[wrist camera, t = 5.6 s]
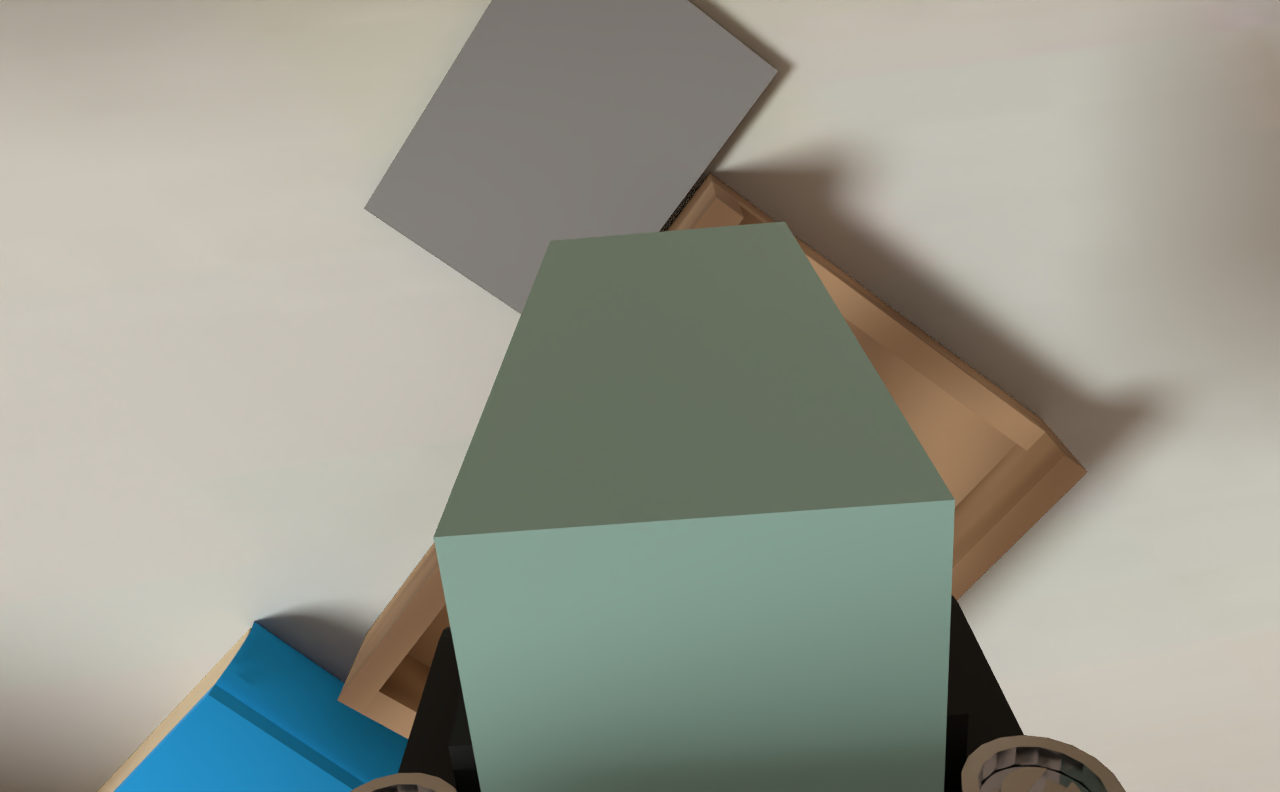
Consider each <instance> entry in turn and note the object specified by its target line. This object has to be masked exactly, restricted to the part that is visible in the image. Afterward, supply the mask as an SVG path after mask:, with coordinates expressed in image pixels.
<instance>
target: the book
mask: <svg viewBox="0 0 1280 792" xmlns="http://www.w3.org/2000/svg"><path fill="white" fill-rule="evenodd" d="M249 630H250V631H249ZM249 630H248V631H247V632H246V633H245V634H244V635H243V636H242V638H241V639H240V640H239V641H238V642H237V643H236V644H235V645H234V646H233V647H232V648H231V649H230V650H229V651H228V653H227V654H226V655H225V656H224V657H223V658H222V659H221V660H220V661H219V662H218V663H217V664H216V665H215V666H214V667H213V669H212V670H211V671H210V672H209V673H208V674H207V675H206V676H205V677H204V678H203V679H202V680H201V681H200V682H199V683H198V685H197V686H196V687H195V688H194V689H193V690H192V691H191V692H190V693H189V694H188V695H187V696H186V697H185V698H184V699H183V701H182V702H181V703H180V704H179V705H178V706H177V707H176V708H175V709H174V710H173V711H172V712H171V713H170V714H169V715H168V717H167V718H166V719H165V720H164V721H163V722H162V723H161V724H160V725H159V726H158V727H157V728H156V729H155V730H154V731H153V733H152V734H151V735H150V736H149V737H148V738H147V739H146V740H145V741H144V742H143V743H142V744H141V745H140V746H139V748H138V749H137V750H136V751H135V752H134V753H133V754H132V755H131V756H130V757H129V758H128V759H127V760H126V761H125V762H124V764H123V765H122V766H121V767H120V768H119V769H118V770H117V771H116V772H115V773H114V774H113V775H112V776H111V777H110V778H109V780H108V781H107V782H106V783H105V784H104V785H103V786H102V787H101V788H100V789H99V790H98V791H97V792H350V791H352V790H353V789H355V788H357V787H359V786H361V785H363V784H365V783H368V782H370V781H372V780H374V779H376V778H381V777H385V776H389V775H393V774H397V773H398V771H399V768H400V765H401V761H402V758H403V755H404V752H405V748H406V745H407V742H408V739H407V738H405V737H403V736H402V735H400V734H398V733H396V732H394V731H392V730H390V729H389V728H387V727H385V726H383V725H381V724H379V723H378V722H376V721H374V720H372V719H370V718H368V717H367V716H365V715H363V714H361V713H359V712H357V711H356V710H354V709H352V708H350V707H348V706H346V705H345V704H343V703H341V702H339V701H337V700H338V697H339V695H340V693H341V691H342V688H343V686H344V683H343V682H341V681H340V680H339V679H337V678H336V677H334V676H333V675H331V674H330V673H328V672H327V671H326V670H324V669H323V668H321V667H320V666H318V665H317V664H315V663H314V662H312V661H311V660H310V659H308V658H307V657H305V656H304V655H302V654H301V653H299V652H298V651H297V650H295V649H294V648H292V647H291V646H289V645H288V644H286V643H285V642H283V641H282V640H281V639H279V638H278V637H276V636H275V635H273V634H272V633H270V632H269V631H267V630H266V629H265V628H263V627H262V626H260V625H259V624H257V623H256V622H254V624H253V627H252V629H249ZM246 637H247V638H246ZM245 639H246V640H245Z"/></svg>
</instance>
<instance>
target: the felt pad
mask: <svg viewBox="0 0 1280 792" xmlns="http://www.w3.org/2000/svg"><path fill="white" fill-rule="evenodd" d="M777 72H778V71H777V70H776V69H775V68H773V67H772V66H771V65H769V64H768V63H767V62H766V61H764V60H763V59H762V58H761V57H759V56H758V55H757V54H756V53H754V52H753V51H752V50H750V49H749V48H748V47H747V46H745V45H744V44H743V43H742V42H740V41H739V40H738V39H736V38H735V37H734V36H733V35H731V34H730V33H729V32H728V31H726V30H725V29H724V28H723V27H721V26H720V25H719V24H717V23H716V22H715V21H714V20H712V19H711V18H710V17H709V16H707V15H706V14H705V13H703V12H702V11H701V10H700V9H698V8H697V7H696V6H695V5H693V4H692V3H691V2H689V1H688V0H492V1H491V3H490V4H489V6H488V8H487V9H486V11H485V13H484V14H483V16H482V17H481V19H480V21H479V22H478V24H477V26H476V27H475V29H474V30H473V32H472V34H471V35H470V37H469V39H468V40H467V42H466V43H465V45H464V47H463V48H462V50H461V52H460V53H459V55H458V56H457V58H456V60H455V61H454V63H453V65H452V66H451V68H450V69H449V71H448V73H447V74H446V76H445V78H444V79H443V81H442V82H441V84H440V86H439V87H438V89H437V91H436V92H435V94H434V95H433V97H432V99H431V100H430V102H429V104H428V105H427V107H426V108H425V110H424V112H423V113H422V115H421V117H420V118H419V120H418V121H417V123H416V125H415V126H414V128H413V130H412V131H411V133H410V134H409V136H408V138H407V139H406V141H405V143H404V144H403V146H402V147H401V149H400V151H399V152H398V154H397V156H396V157H395V159H394V160H393V162H392V164H391V165H390V167H389V169H388V170H387V172H386V173H385V175H384V177H383V178H382V180H381V182H380V183H379V185H378V186H377V188H376V190H375V191H374V193H373V195H372V196H371V198H370V199H369V201H368V203H367V204H366V206H365V208H364V209H365V210H367V211H368V212H370V213H371V214H373V215H374V216H376V217H377V218H379V219H380V220H382V221H383V222H385V223H386V224H388V225H389V226H391V227H392V228H394V229H395V230H397V231H398V232H400V233H401V234H403V235H404V236H406V237H407V238H409V239H410V240H412V241H413V242H415V243H416V244H418V245H419V246H421V247H422V248H423V249H425V250H426V251H428V252H429V253H431V254H432V255H434V256H435V257H437V258H438V259H440V260H441V261H443V262H444V263H446V264H447V265H449V266H450V267H452V268H453V269H455V270H456V271H458V272H459V273H461V274H462V275H464V276H465V277H467V278H468V279H470V280H471V281H473V282H474V283H476V284H477V285H479V286H480V287H482V288H483V289H485V290H486V291H488V292H489V293H491V294H492V295H494V296H495V297H496V298H498V299H499V300H501V301H502V302H504V303H505V304H507V305H508V306H510V307H511V308H513V309H514V310H516V311H517V312H519V313H520V314H522V311H523V309H524V306H525V304H526V301H527V299H528V296H529V294H530V291H531V289H532V286H533V284H534V281H535V278H536V276H537V273H538V271H539V268H540V266H541V263H542V261H543V258H544V256H545V253H546V251H547V248H548V245H549V243H550V241H554V240H566V239H578V238H590V237H602V236H615V235H627V234H639V233H651V232H659V231H660V230H661V228H662V227H663V226H664V224H665V223H666V222H667V220H668V219H669V218H670V216H671V215H672V213H673V212H674V211H675V209H676V208H677V207H678V205H679V204H680V203H681V201H682V200H683V199H684V197H685V196H686V195H687V193H688V192H689V191H690V189H691V188H692V186H693V185H694V184H695V182H696V181H697V180H698V178H699V177H700V176H701V174H702V173H703V172H704V170H705V169H706V168H707V166H708V165H709V164H710V162H711V161H712V160H713V158H714V157H715V155H716V154H717V153H718V151H719V150H720V149H721V147H722V146H723V145H724V143H725V142H726V141H727V139H728V138H729V137H730V135H731V134H732V133H733V131H734V130H735V129H736V127H737V126H738V124H739V123H740V122H741V120H742V119H743V118H744V116H745V115H746V114H747V112H748V111H749V110H750V108H751V107H752V106H753V104H754V103H755V102H756V100H757V99H758V97H759V96H760V95H761V93H762V92H763V91H764V89H765V88H766V87H767V85H768V84H769V83H770V81H771V80H772V79H773V77H774V76H775V75H776V73H777Z"/></svg>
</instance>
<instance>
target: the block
mask: <svg viewBox="0 0 1280 792" xmlns="http://www.w3.org/2000/svg"><path fill="white" fill-rule="evenodd" d="M954 513H955V499H954V497H953V496H952V494H951V492H950V491H949V489H948V488H947V486H946V484H945V483H944V481H943V479H942V478H941V476H940V474H939V473H938V471H937V470H936V468H935V466H934V465H933V463H932V461H931V460H930V458H929V456H928V455H927V453H926V452H925V450H924V448H923V447H922V445H921V443H920V442H919V440H918V438H917V437H916V435H915V434H914V432H913V430H912V429H911V427H910V425H909V424H908V422H907V420H906V419H905V417H904V416H903V414H902V412H901V411H900V409H899V407H898V406H897V404H896V402H895V401H894V399H893V398H892V396H891V394H890V393H889V391H888V389H887V388H886V386H885V384H884V383H883V381H882V380H881V378H880V376H879V375H878V373H877V371H876V370H875V368H874V366H873V365H872V363H871V362H870V360H869V358H868V357H867V355H866V353H865V352H864V350H863V348H862V347H861V345H860V344H859V342H858V340H857V339H856V337H855V335H854V334H853V332H852V330H851V329H850V327H849V326H848V324H847V322H846V321H845V319H844V317H843V316H842V314H841V312H840V311H839V309H838V308H837V306H836V304H835V303H834V301H833V299H832V298H831V296H830V294H829V293H828V291H827V290H826V288H825V286H824V285H823V283H822V281H821V280H820V278H819V276H818V275H817V273H816V272H815V270H814V268H813V267H812V265H811V263H810V262H809V260H808V258H807V257H806V255H805V254H804V252H803V250H802V249H801V247H800V245H799V244H798V242H797V240H796V239H795V237H794V236H793V234H792V232H791V231H790V229H789V227H788V226H787V224H786V222H785V221H784V222H772V223H759V224H747V225H735V226H723V227H711V228H699V229H687V230H675V231H663V232H651V233H639V234H627V235H615V236H602V237H590V238H578V239H566V240H554V241H550V243H549V245H548V248H547V251H546V253H545V256H544V258H543V261H542V263H541V266H540V268H539V271H538V273H537V276H536V278H535V281H534V284H533V286H532V289H531V291H530V294H529V296H528V299H527V301H526V304H525V306H524V309H523V311H522V314H521V317H520V319H519V322H518V324H517V327H516V329H515V332H514V334H513V337H512V339H511V342H510V344H509V347H508V350H507V352H506V355H505V357H504V360H503V362H502V365H501V367H500V370H499V372H498V375H497V378H496V380H495V383H494V385H493V388H492V390H491V393H490V395H489V398H488V400H487V403H486V405H485V408H484V411H483V413H482V416H481V418H480V421H479V423H478V426H477V428H476V431H475V433H474V436H473V438H472V441H471V444H470V446H469V449H468V451H467V454H466V456H465V459H464V461H463V464H462V466H461V469H460V471H459V474H458V477H457V479H456V482H455V484H454V487H453V489H452V492H451V494H450V497H449V499H448V502H447V504H446V507H445V510H444V512H443V515H442V517H441V520H440V522H439V525H438V527H437V530H436V532H435V535H434V542H435V548H436V553H437V558H438V564H439V569H440V574H441V580H442V585H443V590H444V596H445V601H446V606H447V612H448V617H449V623H450V628H451V633H452V639H453V644H454V649H455V655H456V660H457V665H458V671H459V676H460V682H461V687H462V692H463V698H464V703H465V708H466V714H467V719H468V724H469V730H470V735H471V741H472V746H473V751H474V757H475V762H476V767H477V773H478V778H479V783H480V789H481V792H944V777H945V751H946V725H947V698H948V672H949V645H950V619H951V592H952V566H953V539H954Z"/></svg>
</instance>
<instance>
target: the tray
mask: <svg viewBox="0 0 1280 792" xmlns="http://www.w3.org/2000/svg"><path fill="white" fill-rule="evenodd" d="M772 222H776V221H774V220H773V219H771V218H770V217H769V216H767V215H766V214H765V213H763V212H762V211H761V210H759V209H758V208H757V207H755V206H754V205H753V204H751V203H750V202H749V201H747V200H746V199H745V198H743V197H742V196H741V195H739V194H738V193H737V192H735V191H734V190H733V189H731V188H730V187H729V186H727V185H726V184H724V183H723V182H722V181H720V180H719V179H718V178H716V177H715V176H714V175H712V174H711V173H709V174H708V175H707V177H706V178H705V179H704V181H703V182H702V183H701V185H700V186H699V187H698V189H697V190H696V191H695V193H694V194H693V196H692V197H691V198H690V200H689V201H688V202H687V204H686V205H685V206H684V208H683V209H682V210H681V212H680V213H679V214H678V216H677V217H676V218H675V220H674V221H673V222H672V224H671V225H670V226H669V228H668V229H667V230H666V231H675V230H687V229H699V228H711V227H723V226H735V225H747V224H759V223H772ZM793 236H794V235H793ZM794 237H795V239H796V240H797V242H798V244H799V245H800V247H801V249H802V250H803V252H804V254H805V255H806V257H807V258H808V260H809V262H810V263H811V265H812V267H813V268H814V270H815V272H816V273H817V275H818V276H819V278H820V280H821V281H822V283H823V285H824V286H825V288H826V290H827V291H828V293H829V294H830V296H831V298H832V299H833V301H834V303H835V304H836V306H837V308H838V309H839V311H840V312H841V314H842V316H843V317H844V319H845V321H846V322H847V324H848V326H849V327H850V329H851V330H852V332H853V334H854V335H855V337H856V339H857V340H858V342H859V344H860V345H861V347H862V348H863V350H864V352H865V353H866V355H867V357H868V358H869V360H870V362H871V363H872V365H873V366H874V368H875V370H876V371H877V373H878V375H879V376H880V378H881V380H882V381H883V383H884V384H885V386H886V388H887V389H888V391H889V393H890V394H891V396H892V398H893V399H894V401H895V402H896V404H897V406H898V407H899V409H900V411H901V412H902V414H903V416H904V417H905V419H906V420H907V422H908V424H909V425H910V427H911V429H912V430H913V432H914V434H915V435H916V437H917V438H918V440H919V442H920V443H921V445H922V447H923V448H924V450H925V452H926V453H927V455H928V456H929V458H930V460H931V461H932V463H933V465H934V466H935V468H936V470H937V471H938V473H939V474H940V476H941V478H942V479H943V481H944V483H945V484H946V486H947V488H948V489H949V491H950V492H951V494H952V496H953V497H954V499H955V513H954V539H953V566H952V592H951V595H953V596H954V598H955V599H956V601H957V600H958V599H959V598H960V597H961V596H962V595H963V594H964V593H965V592H966V591H967V590H968V589H969V588H970V587H971V586H972V585H973V584H974V583H975V582H976V581H977V580H978V579H979V578H980V577H981V576H982V575H983V574H984V573H985V572H986V571H987V570H988V569H989V568H990V567H991V566H992V565H993V564H994V563H995V562H996V561H997V560H998V559H999V558H1000V557H1001V556H1002V555H1003V554H1005V553H1006V552H1007V551H1008V550H1009V549H1010V548H1011V547H1012V546H1013V545H1014V544H1015V543H1016V542H1017V541H1018V540H1019V539H1020V538H1021V537H1022V536H1023V535H1024V534H1025V533H1026V532H1027V531H1028V530H1029V529H1030V528H1031V527H1032V526H1033V525H1034V524H1035V523H1036V522H1037V521H1038V520H1039V519H1040V518H1041V517H1042V516H1043V515H1044V514H1045V513H1046V512H1047V511H1048V510H1049V509H1050V508H1051V507H1052V506H1053V505H1054V504H1055V503H1056V502H1057V501H1058V500H1059V499H1060V498H1061V497H1062V496H1063V495H1064V494H1066V493H1067V492H1068V491H1069V490H1070V489H1071V488H1072V487H1073V486H1074V485H1075V484H1076V483H1077V482H1078V481H1079V480H1080V479H1081V478H1082V477H1083V476H1084V475H1085V474H1086V473H1087V471H1086V469H1085V468H1084V467H1083V466H1082V465H1081V464H1080V463H1079V461H1078V460H1077V459H1076V458H1075V457H1074V456H1073V455H1072V453H1071V452H1070V451H1069V450H1068V449H1067V448H1066V447H1065V445H1064V444H1063V443H1062V442H1061V441H1060V440H1059V439H1058V437H1057V436H1056V435H1055V434H1054V433H1053V432H1052V431H1051V429H1050V428H1049V427H1048V426H1047V425H1046V424H1045V423H1044V421H1043V420H1041V419H1040V418H1039V417H1037V416H1036V415H1035V414H1033V413H1032V412H1031V411H1029V410H1028V409H1027V408H1025V407H1024V406H1023V405H1021V404H1020V403H1019V402H1017V401H1016V400H1015V399H1013V398H1012V397H1010V396H1009V395H1008V394H1006V393H1005V392H1004V391H1002V390H1001V389H1000V388H998V387H997V386H996V385H994V384H993V383H992V382H990V381H989V380H988V379H986V378H985V377H984V376H982V375H981V374H980V373H978V372H977V371H976V370H974V369H973V368H972V367H970V366H969V365H968V364H966V363H965V362H964V361H962V360H961V359H959V358H958V357H957V356H955V355H954V354H953V353H951V352H950V351H949V350H947V349H946V348H945V347H943V346H942V345H941V344H939V343H938V342H937V341H935V340H934V339H933V338H931V337H930V336H929V335H927V334H926V333H925V332H923V331H922V330H921V329H919V328H918V327H917V326H915V325H914V324H912V323H911V322H910V321H908V320H907V319H906V318H904V317H903V316H902V315H900V314H899V313H898V312H896V311H895V310H894V309H892V308H891V307H890V306H888V305H887V304H886V303H884V302H883V301H882V300H880V299H879V298H878V297H876V296H875V295H874V294H872V293H871V292H870V291H868V290H867V289H865V288H864V287H863V286H861V285H860V284H859V283H857V282H856V281H855V280H853V279H852V278H851V277H849V276H848V275H847V274H845V273H844V272H843V271H841V270H840V269H839V268H837V267H836V266H835V265H833V264H832V263H831V262H829V261H828V260H827V259H825V258H824V257H823V256H821V255H820V254H818V253H817V252H816V251H814V250H813V249H812V248H810V247H809V246H808V245H806V244H805V243H804V242H802V241H801V240H800V239H798V238H797V237H796V236H794ZM446 627H450V623H449V617H448V612H447V606H446V601H445V596H444V590H443V585H442V580H441V574H440V569H439V564H438V558H437V553H436V548H435V542H434V544H433V545H432V546H431V548H430V549H429V550H428V552H427V553H426V554H425V556H424V557H423V558H422V560H421V561H420V562H419V564H418V565H417V566H416V568H415V569H414V570H413V572H412V573H411V574H410V576H409V577H408V578H407V580H406V581H405V582H404V584H403V585H402V587H401V588H400V589H399V591H398V592H397V593H396V595H395V596H394V597H393V599H392V600H391V601H390V603H389V604H388V605H387V607H386V608H385V609H384V611H383V612H382V613H381V615H380V616H379V617H378V619H377V620H376V621H375V623H374V624H373V625H372V627H371V628H370V629H369V631H368V632H367V634H366V636H365V638H364V641H363V643H362V645H361V647H360V650H359V652H358V654H357V657H356V659H355V661H354V663H353V666H352V668H351V670H350V672H349V675H348V677H347V679H346V681H345V684H344V686H343V688H342V691H341V693H340V695H339V697H338V700H337V701H339V702H341V703H343V704H345V705H346V706H348V707H350V708H352V709H354V710H356V711H357V712H359V713H361V714H363V715H365V716H367V717H368V718H370V719H372V720H374V721H376V722H378V723H379V724H381V725H383V726H385V727H387V728H389V729H390V730H392V731H394V732H396V733H398V734H400V735H402V736H403V737H405V738H407V739H409V735H410V732H411V729H412V726H413V722H414V719H415V716H416V713H417V709H418V706H419V703H420V700H421V697H422V693H423V690H424V687H425V684H426V680H427V677H428V674H429V671H430V667H431V664H432V661H433V658H434V654H435V651H436V648H437V645H438V641H439V638H440V636H441V634H442V631H443V630H444V629H445V628H446Z"/></svg>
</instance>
